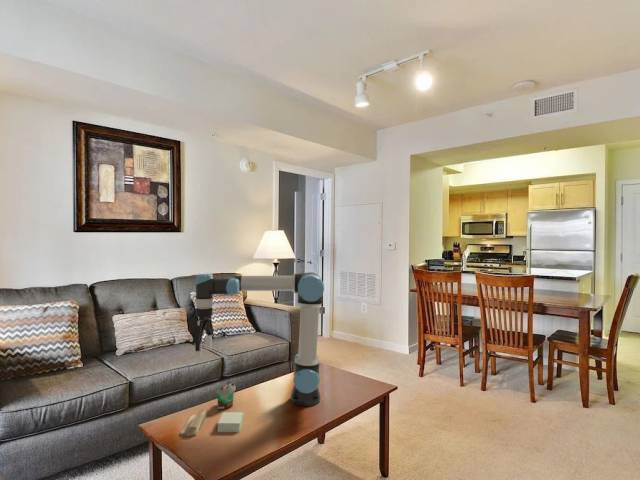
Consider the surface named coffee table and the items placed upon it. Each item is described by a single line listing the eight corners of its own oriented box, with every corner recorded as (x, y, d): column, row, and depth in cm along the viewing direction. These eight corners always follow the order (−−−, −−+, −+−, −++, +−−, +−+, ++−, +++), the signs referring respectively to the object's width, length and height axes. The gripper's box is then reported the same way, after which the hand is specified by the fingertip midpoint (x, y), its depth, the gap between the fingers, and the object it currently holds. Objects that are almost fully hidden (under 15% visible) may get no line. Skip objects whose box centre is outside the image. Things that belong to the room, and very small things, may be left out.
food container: (228, 413, 177) (229, 391, 177) (216, 411, 178) (216, 390, 178) (239, 401, 189) (239, 381, 189) (227, 400, 190) (228, 380, 190)
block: (243, 421, 170) (243, 412, 170) (239, 432, 160) (239, 423, 160) (222, 421, 169) (223, 412, 169) (217, 432, 159) (217, 423, 159)
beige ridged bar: (206, 417, 172) (206, 409, 172) (196, 435, 156) (196, 427, 156) (191, 417, 172) (192, 409, 172) (180, 435, 156) (180, 426, 156)
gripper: (205, 302, 189) (204, 345, 189) (185, 312, 164) (184, 361, 165) (220, 303, 189) (219, 345, 189) (202, 312, 164) (201, 362, 164)
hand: (203, 353), depth 177 cm, fingers open, 13 cm apart
